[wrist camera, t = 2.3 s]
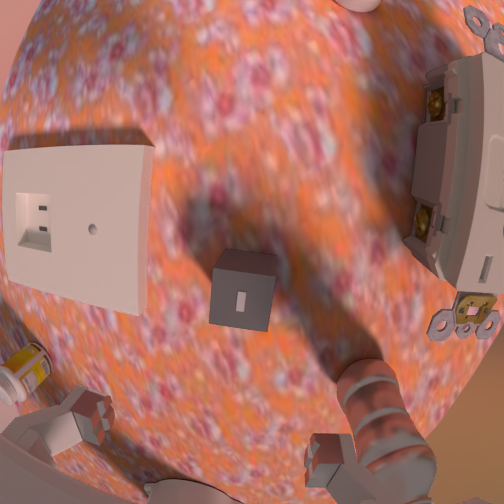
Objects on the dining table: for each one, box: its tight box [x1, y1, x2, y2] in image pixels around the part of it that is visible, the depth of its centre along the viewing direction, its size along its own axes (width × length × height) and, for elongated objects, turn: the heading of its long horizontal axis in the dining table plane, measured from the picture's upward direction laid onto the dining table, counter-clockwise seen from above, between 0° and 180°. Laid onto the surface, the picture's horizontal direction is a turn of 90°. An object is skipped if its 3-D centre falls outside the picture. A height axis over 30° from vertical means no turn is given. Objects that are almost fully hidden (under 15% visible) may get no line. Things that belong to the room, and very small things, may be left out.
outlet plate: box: [2, 145, 155, 316], centre depth 27 cm, size 16×20×2 cm
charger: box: [209, 248, 276, 332], centre depth 25 cm, size 5×5×6 cm
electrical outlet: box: [403, 5, 504, 341], centre depth 19 cm, size 12×28×10 cm, turn 175°
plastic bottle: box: [337, 359, 437, 504], centre depth 20 cm, size 6×7×20 cm
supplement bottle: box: [0, 342, 53, 406], centre depth 29 cm, size 6×6×10 cm
